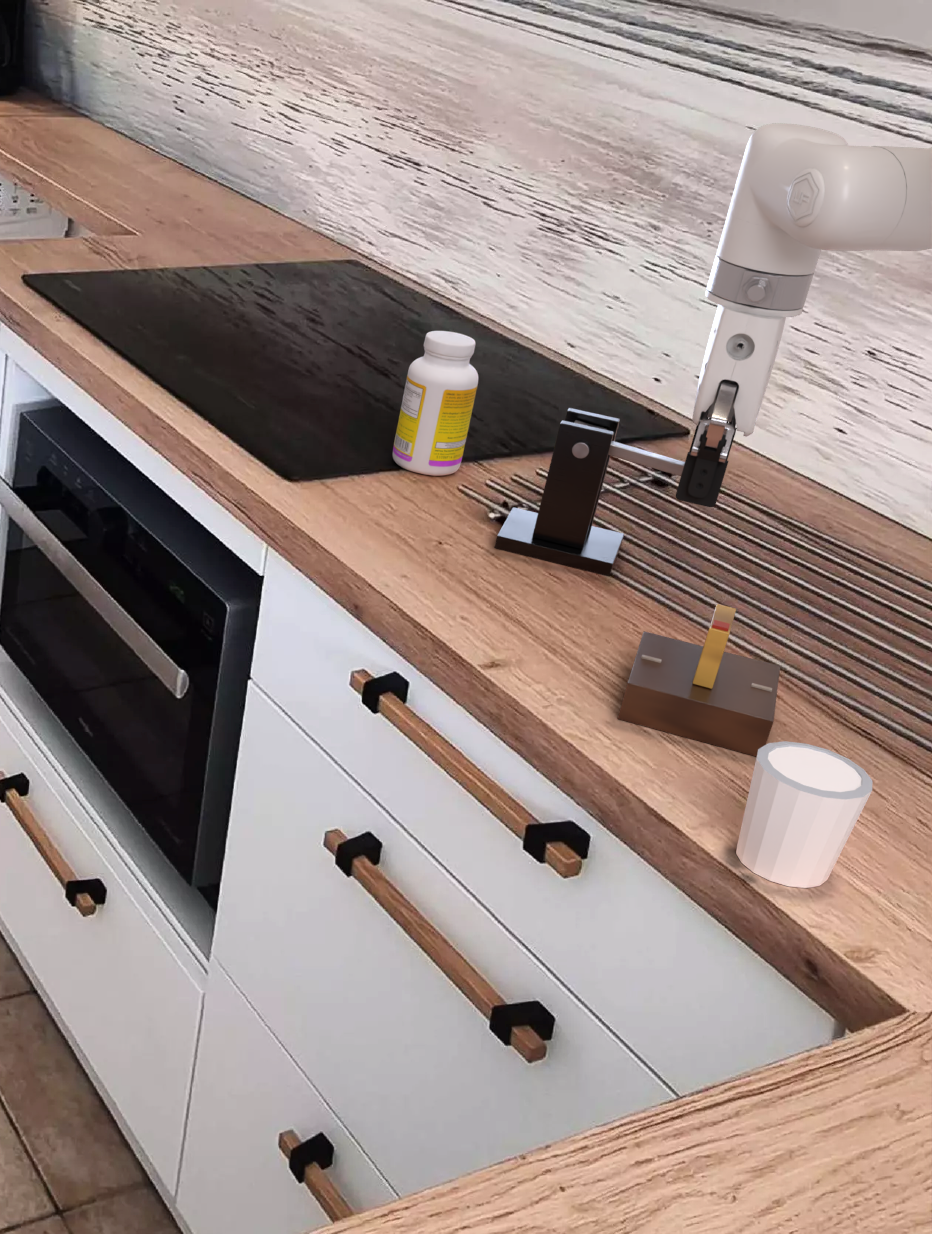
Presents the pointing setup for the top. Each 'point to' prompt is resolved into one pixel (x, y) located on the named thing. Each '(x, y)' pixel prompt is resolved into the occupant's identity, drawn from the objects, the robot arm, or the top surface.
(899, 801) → the top surface
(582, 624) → the top surface
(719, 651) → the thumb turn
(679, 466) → the door handle
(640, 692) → the plate
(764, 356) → the robot arm
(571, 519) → the handle bracket
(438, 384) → the supplement bottle
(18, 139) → the top surface
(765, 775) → the shot glass
